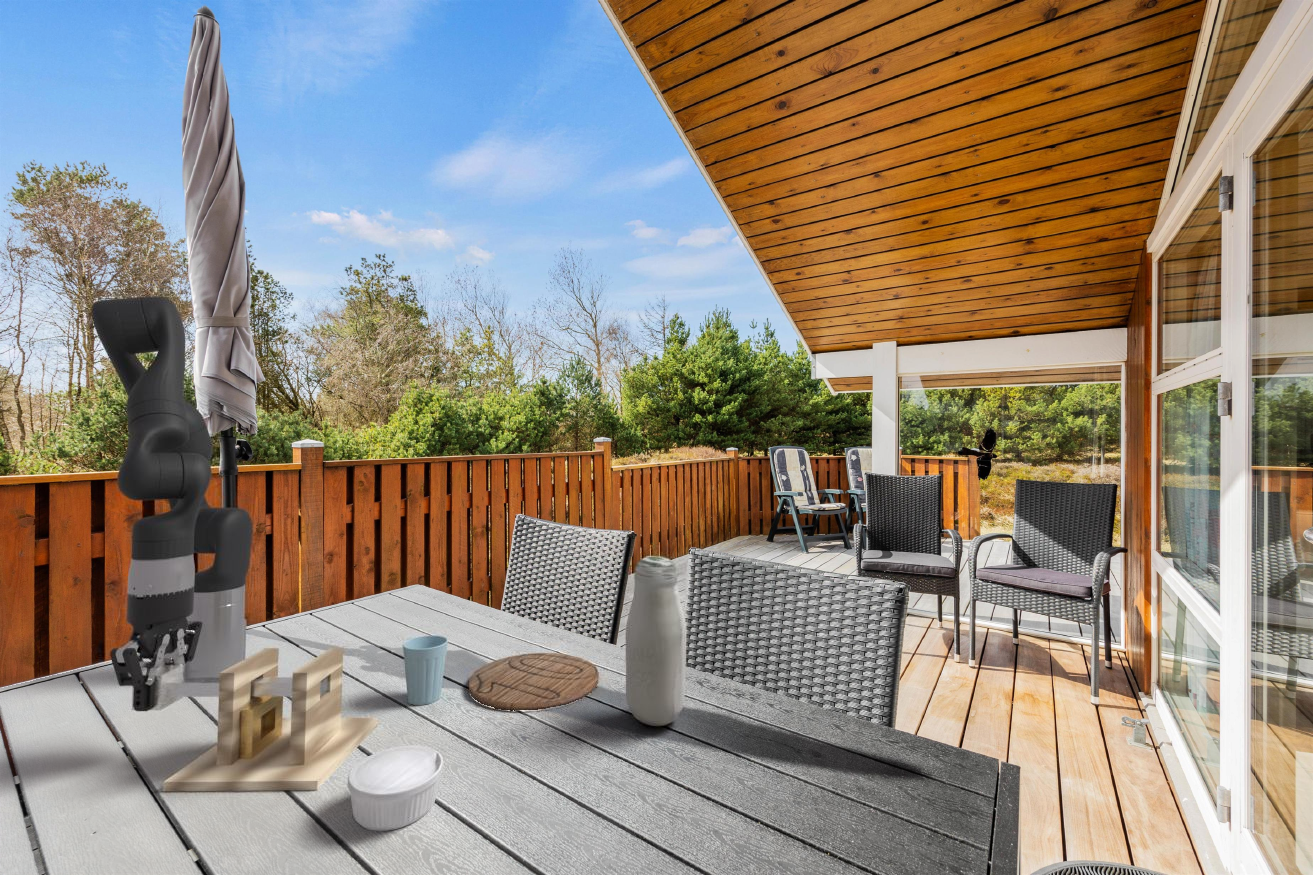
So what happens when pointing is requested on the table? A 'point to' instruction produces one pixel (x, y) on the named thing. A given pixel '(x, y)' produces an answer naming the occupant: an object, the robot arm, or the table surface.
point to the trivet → (533, 681)
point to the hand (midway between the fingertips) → (157, 702)
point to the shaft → (211, 686)
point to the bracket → (307, 737)
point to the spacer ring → (251, 725)
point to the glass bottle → (655, 644)
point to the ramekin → (395, 786)
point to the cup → (424, 668)
